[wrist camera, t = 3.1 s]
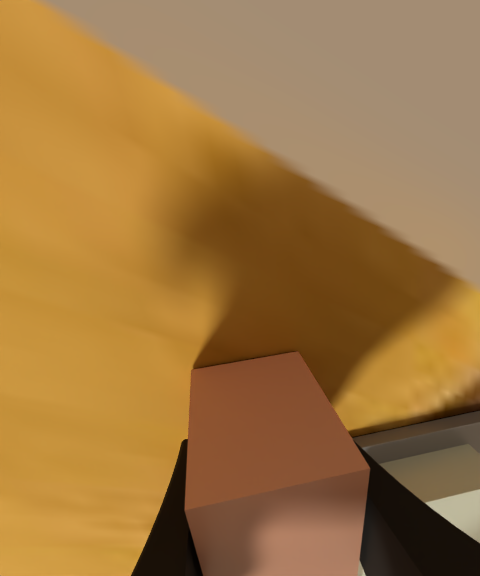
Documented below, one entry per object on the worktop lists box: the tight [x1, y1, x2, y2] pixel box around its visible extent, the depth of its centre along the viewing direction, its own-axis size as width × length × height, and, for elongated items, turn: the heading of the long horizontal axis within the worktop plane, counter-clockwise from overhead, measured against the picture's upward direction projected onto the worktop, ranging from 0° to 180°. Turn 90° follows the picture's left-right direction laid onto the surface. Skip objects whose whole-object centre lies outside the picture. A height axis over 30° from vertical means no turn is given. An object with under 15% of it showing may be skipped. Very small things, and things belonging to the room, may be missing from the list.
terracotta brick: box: [185, 351, 370, 576], centre depth 10 cm, size 6×4×5 cm
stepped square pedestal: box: [352, 411, 480, 576], centre depth 14 cm, size 10×10×3 cm
